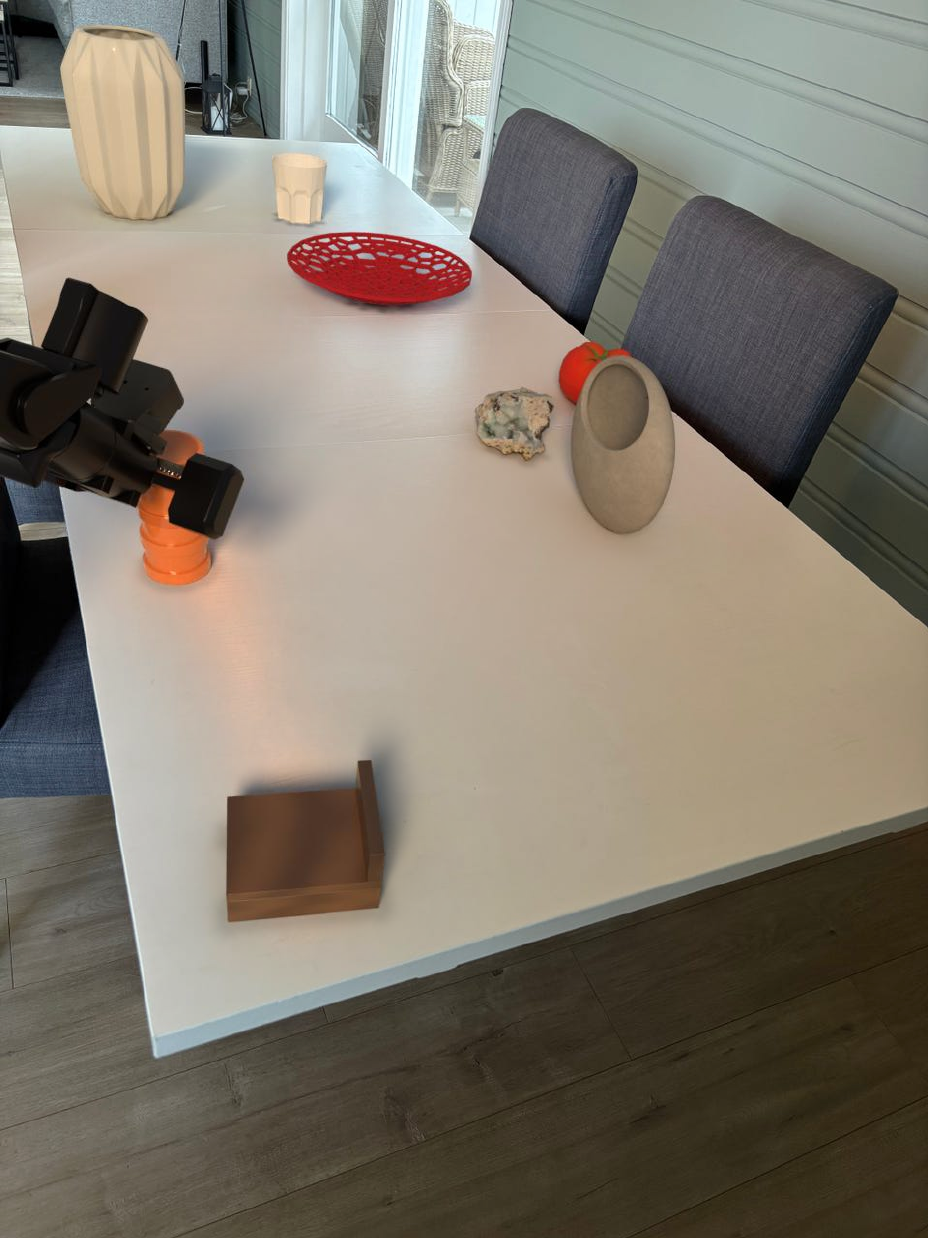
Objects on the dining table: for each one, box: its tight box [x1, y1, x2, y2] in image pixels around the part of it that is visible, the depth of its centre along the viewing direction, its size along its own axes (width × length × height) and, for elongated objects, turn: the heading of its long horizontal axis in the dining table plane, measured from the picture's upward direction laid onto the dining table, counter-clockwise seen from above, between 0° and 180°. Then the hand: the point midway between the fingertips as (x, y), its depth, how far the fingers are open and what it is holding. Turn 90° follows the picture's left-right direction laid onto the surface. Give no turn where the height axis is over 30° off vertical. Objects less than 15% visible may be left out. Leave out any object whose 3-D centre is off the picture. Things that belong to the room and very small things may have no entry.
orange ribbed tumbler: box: [136, 429, 212, 586], centre depth 84 cm, size 6×6×13 cm
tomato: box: [558, 341, 632, 405], centre depth 125 cm, size 11×11×8 cm
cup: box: [271, 152, 328, 225], centre depth 170 cm, size 10×10×10 cm
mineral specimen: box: [474, 386, 556, 461], centre depth 114 cm, size 10×8×10 cm
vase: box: [59, 24, 186, 221], centre depth 156 cm, size 20×20×28 cm
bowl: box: [286, 231, 473, 306], centre depth 147 cm, size 29×29×5 cm
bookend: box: [225, 759, 386, 923], centre depth 62 cm, size 10×8×6 cm
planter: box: [570, 355, 676, 535], centre depth 98 cm, size 18×7×19 cm, turn 20°
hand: (178, 498), depth 84 cm, fingers open, 9 cm apart
